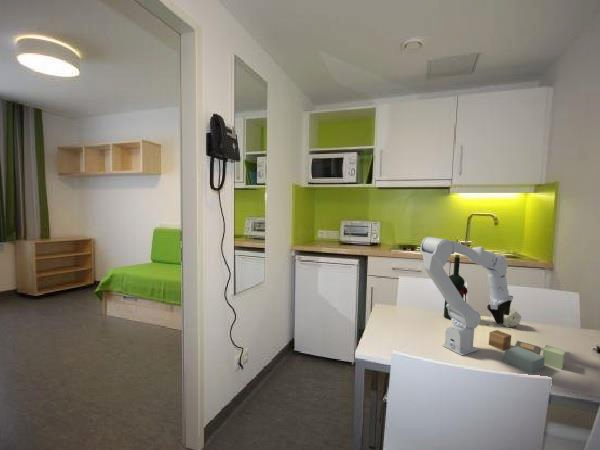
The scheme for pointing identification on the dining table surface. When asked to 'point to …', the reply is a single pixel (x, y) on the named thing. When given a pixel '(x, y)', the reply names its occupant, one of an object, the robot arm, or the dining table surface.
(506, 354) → the slate plinth
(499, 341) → the walnut cube
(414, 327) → the dining table surface
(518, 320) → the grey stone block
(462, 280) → the wine bottle
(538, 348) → the card
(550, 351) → the sage cube
